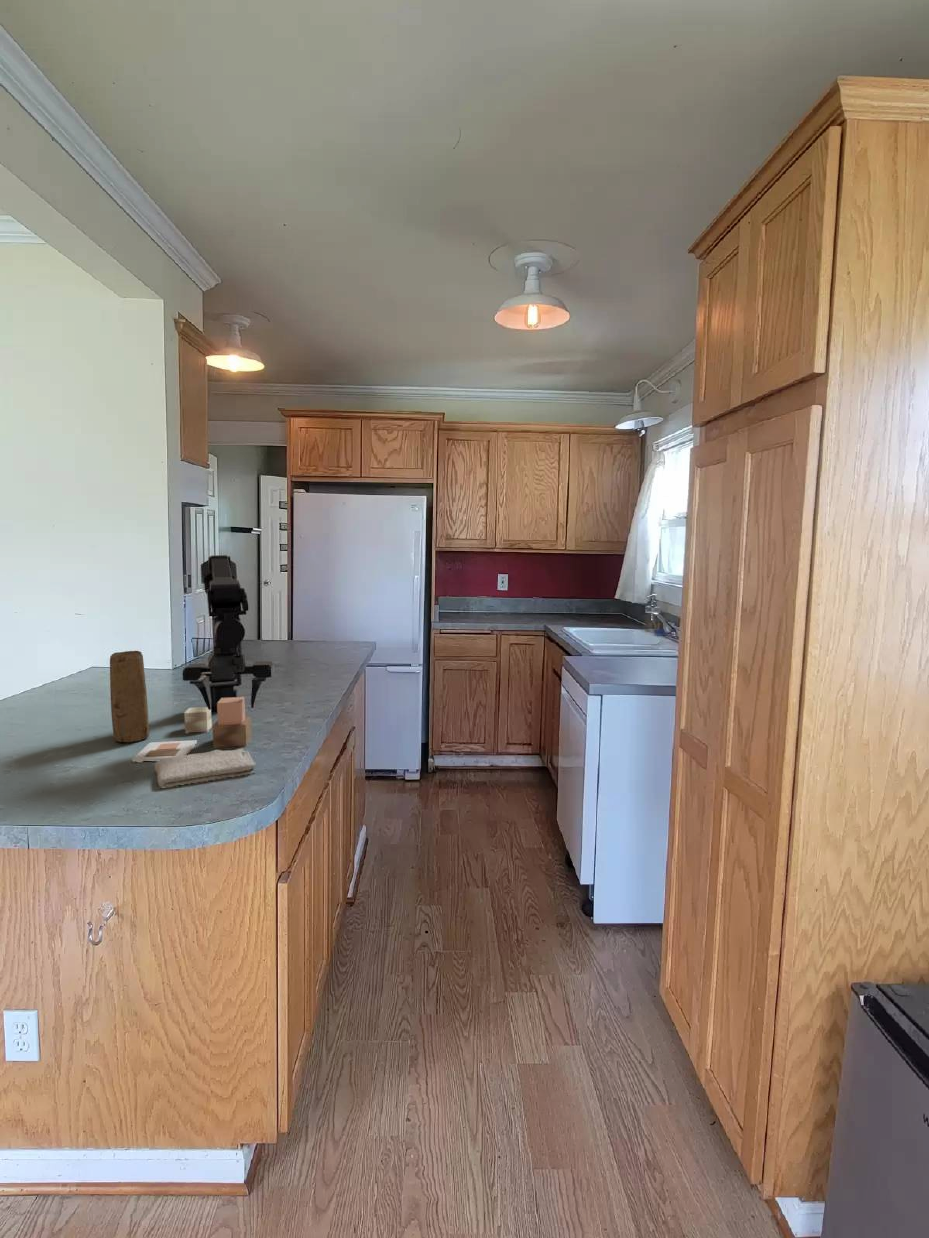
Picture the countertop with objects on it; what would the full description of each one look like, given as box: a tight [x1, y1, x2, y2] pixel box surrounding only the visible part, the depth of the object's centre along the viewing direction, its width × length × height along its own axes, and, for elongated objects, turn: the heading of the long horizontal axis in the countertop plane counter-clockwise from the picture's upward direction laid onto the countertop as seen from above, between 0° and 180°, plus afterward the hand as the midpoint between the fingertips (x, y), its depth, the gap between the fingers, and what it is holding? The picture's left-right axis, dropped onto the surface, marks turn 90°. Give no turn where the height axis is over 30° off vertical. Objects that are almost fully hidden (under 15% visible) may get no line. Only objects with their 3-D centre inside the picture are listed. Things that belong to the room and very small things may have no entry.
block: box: [109, 650, 150, 743], centre depth 154 cm, size 11×8×20 cm
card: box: [131, 739, 198, 762], centre depth 144 cm, size 10×12×1 cm
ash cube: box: [183, 706, 213, 734], centre depth 161 cm, size 5×5×5 cm
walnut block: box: [211, 716, 253, 748], centre depth 151 cm, size 7×7×5 cm
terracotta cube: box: [216, 696, 246, 725], centre depth 150 cm, size 5×5×5 cm
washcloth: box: [153, 748, 257, 789], centre depth 131 cm, size 12×18×3 cm, turn 118°
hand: (231, 708), depth 150 cm, fingers open, 9 cm apart
